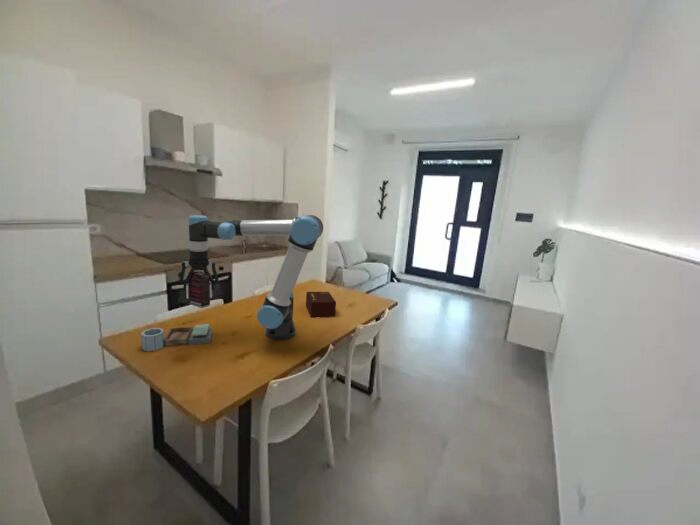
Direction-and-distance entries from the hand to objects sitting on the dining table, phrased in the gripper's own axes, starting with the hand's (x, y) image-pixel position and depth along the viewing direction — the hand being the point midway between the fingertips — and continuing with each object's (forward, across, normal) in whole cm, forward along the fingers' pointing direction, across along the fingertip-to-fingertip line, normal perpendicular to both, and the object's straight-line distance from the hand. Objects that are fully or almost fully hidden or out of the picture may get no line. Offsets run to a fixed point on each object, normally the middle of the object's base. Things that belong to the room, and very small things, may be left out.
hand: (199, 297), depth 140 cm
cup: (+21, +18, +5) cm, 28 cm away
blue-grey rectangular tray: (+21, 0, 0) cm, 21 cm away
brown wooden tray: (+21, +9, -1) cm, 23 cm away
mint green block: (+19, 0, 0) cm, 19 cm away
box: (+21, -66, -28) cm, 75 cm away
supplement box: (+4, 0, 0) cm, 4 cm away
